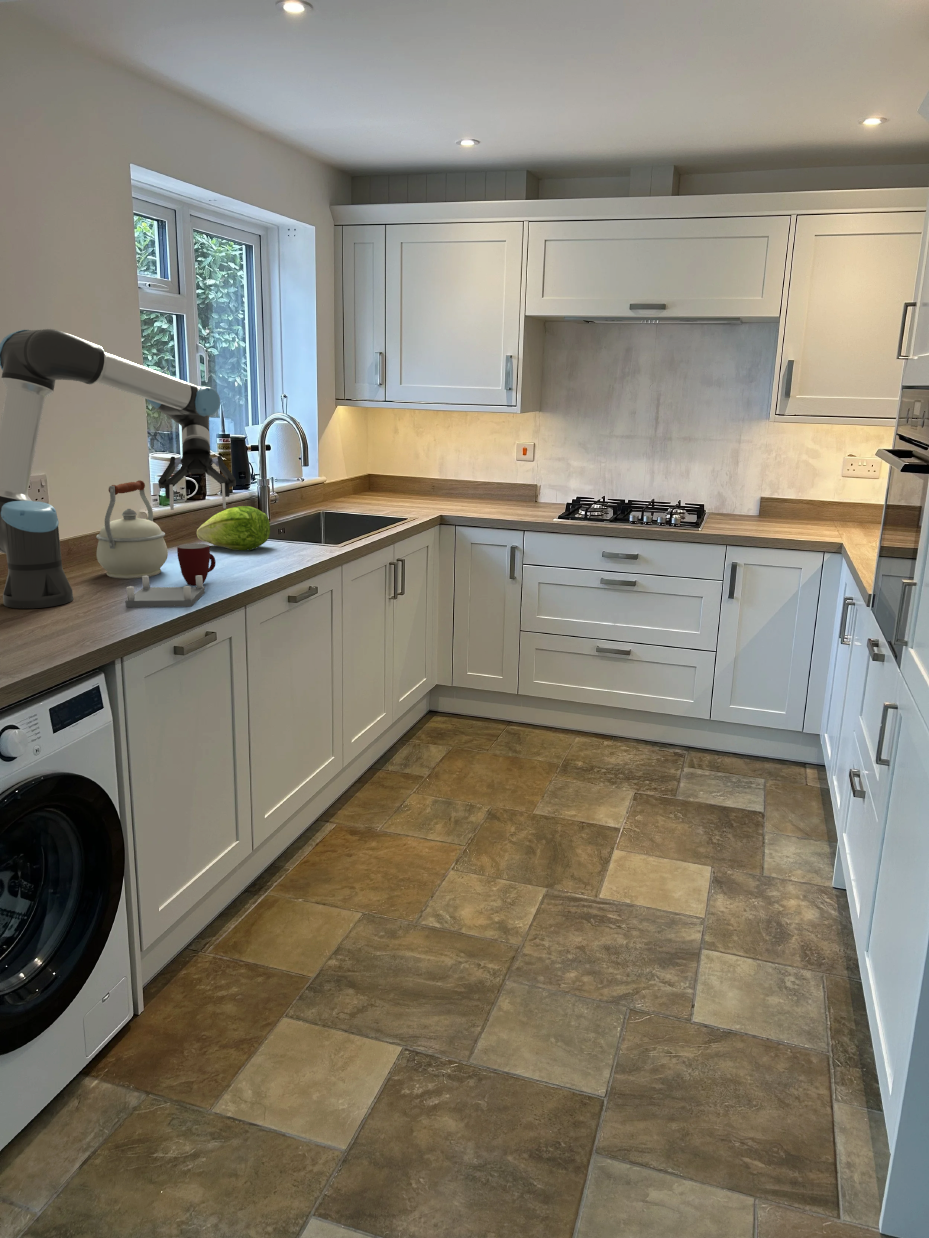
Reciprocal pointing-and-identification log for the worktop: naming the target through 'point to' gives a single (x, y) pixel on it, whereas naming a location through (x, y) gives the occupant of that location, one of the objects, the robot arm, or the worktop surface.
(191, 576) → the mug
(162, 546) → the kettle
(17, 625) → the worktop surface
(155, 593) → the post board
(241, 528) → the lettuce
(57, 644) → the worktop surface
